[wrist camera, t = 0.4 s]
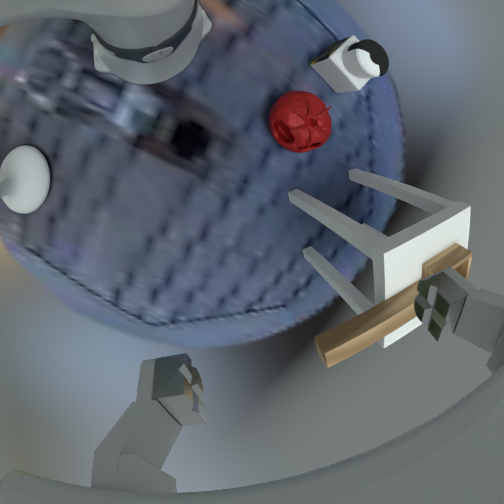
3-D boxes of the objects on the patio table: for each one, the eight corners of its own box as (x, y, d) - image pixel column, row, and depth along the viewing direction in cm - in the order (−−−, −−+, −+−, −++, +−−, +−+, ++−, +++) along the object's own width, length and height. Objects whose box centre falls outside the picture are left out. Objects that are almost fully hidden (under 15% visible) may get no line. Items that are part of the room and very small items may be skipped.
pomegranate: (279, 82, 39) (303, 73, 31) (327, 113, 43) (358, 112, 35) (252, 133, 42) (270, 134, 33) (303, 161, 45) (330, 169, 37)
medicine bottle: (332, 43, 37) (372, 27, 27) (357, 71, 40) (401, 63, 30) (308, 65, 38) (347, 50, 28) (336, 94, 42) (379, 89, 31)
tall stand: (285, 191, 47) (383, 253, 24) (356, 166, 48) (470, 206, 25) (303, 259, 53) (383, 348, 30) (366, 231, 55) (460, 295, 32)
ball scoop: (311, 323, 25) (324, 342, 22) (455, 242, 27) (472, 252, 24) (320, 362, 28) (331, 380, 25) (450, 284, 30) (465, 294, 27)
